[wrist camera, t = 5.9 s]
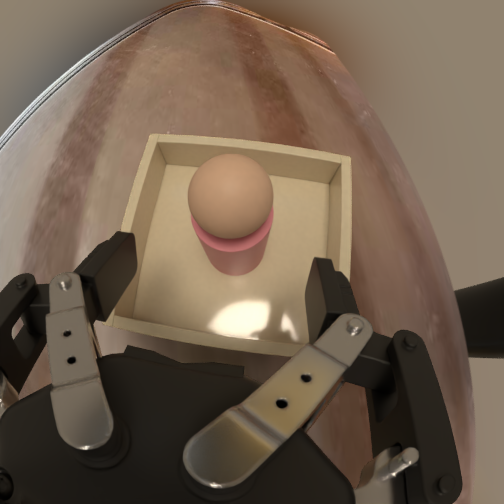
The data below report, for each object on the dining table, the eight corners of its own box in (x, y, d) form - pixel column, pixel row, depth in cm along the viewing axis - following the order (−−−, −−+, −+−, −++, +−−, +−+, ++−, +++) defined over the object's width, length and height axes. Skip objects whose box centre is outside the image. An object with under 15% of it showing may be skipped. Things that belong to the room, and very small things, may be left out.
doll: (267, 223, 23) (286, 139, 12) (260, 279, 22) (277, 233, 11) (211, 216, 23) (188, 129, 12) (201, 271, 22) (164, 219, 11)
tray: (335, 183, 25) (351, 156, 21) (323, 354, 21) (342, 360, 17) (163, 162, 25) (150, 133, 21) (126, 325, 21) (101, 324, 17)
